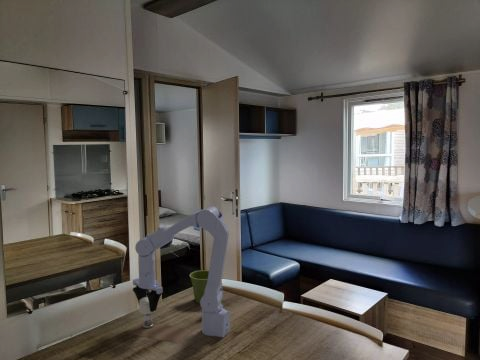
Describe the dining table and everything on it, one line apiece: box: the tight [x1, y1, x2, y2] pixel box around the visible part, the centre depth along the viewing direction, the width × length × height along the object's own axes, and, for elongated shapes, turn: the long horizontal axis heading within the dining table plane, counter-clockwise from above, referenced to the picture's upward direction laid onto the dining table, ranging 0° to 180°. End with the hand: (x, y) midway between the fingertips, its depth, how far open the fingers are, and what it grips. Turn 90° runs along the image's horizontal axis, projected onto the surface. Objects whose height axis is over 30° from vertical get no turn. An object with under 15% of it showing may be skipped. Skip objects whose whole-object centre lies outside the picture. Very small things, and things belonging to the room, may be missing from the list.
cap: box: [138, 296, 156, 315], centre depth 133 cm, size 6×6×4 cm
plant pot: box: [189, 270, 209, 304], centre depth 159 cm, size 12×12×11 cm
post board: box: [126, 313, 192, 345], centre depth 129 cm, size 20×10×6 cm, turn 69°
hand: (147, 308), depth 133 cm, fingers closed on cap, 6 cm apart
